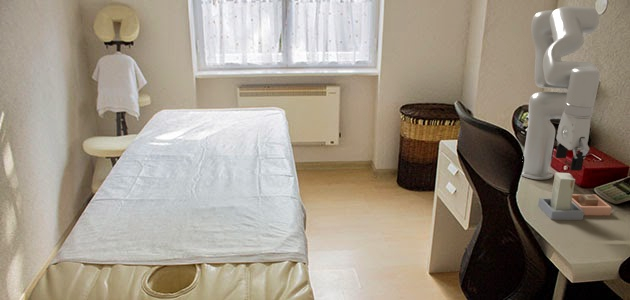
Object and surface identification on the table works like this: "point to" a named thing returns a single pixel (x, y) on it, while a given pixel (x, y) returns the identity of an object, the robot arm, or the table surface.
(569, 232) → the table surface
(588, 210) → the bin terracotta
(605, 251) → the table surface
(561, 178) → the skincare box
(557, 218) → the bin grey
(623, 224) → the table surface
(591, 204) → the letter cube
